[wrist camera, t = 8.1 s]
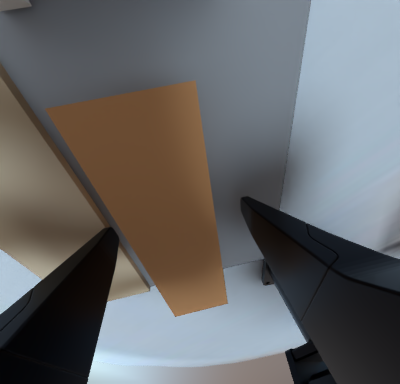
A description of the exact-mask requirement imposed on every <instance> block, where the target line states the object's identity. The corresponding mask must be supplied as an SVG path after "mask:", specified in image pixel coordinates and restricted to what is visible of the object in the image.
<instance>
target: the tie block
mask: <svg viewBox="0 0 400 384" xmlns="http://www.w3.org/2000/svg"><path fill="white" fill-rule="evenodd" d="M31 6H32V5H31V3H30V1H29V0H0V11H6V10H12V9H18V8H25V7H31Z"/></svg>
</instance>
